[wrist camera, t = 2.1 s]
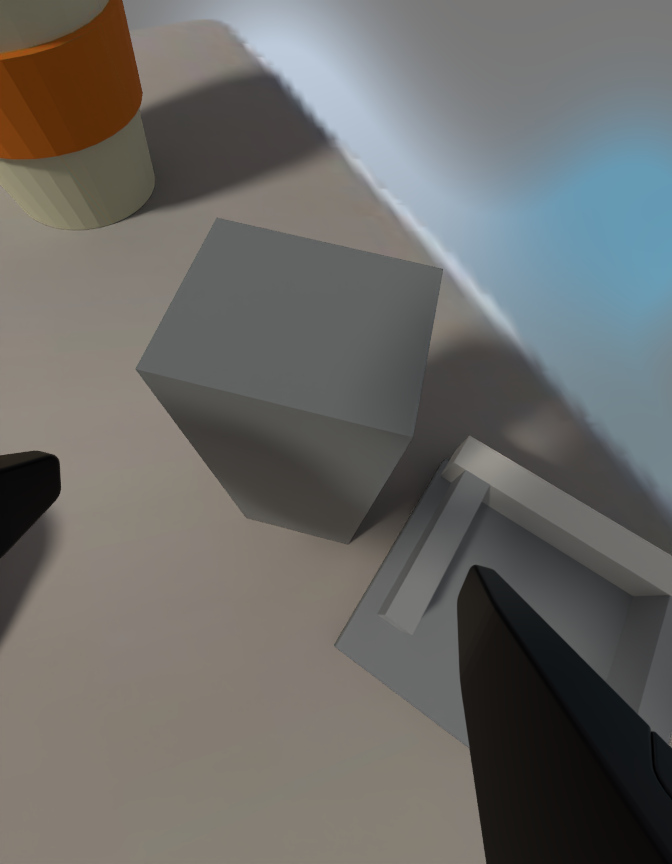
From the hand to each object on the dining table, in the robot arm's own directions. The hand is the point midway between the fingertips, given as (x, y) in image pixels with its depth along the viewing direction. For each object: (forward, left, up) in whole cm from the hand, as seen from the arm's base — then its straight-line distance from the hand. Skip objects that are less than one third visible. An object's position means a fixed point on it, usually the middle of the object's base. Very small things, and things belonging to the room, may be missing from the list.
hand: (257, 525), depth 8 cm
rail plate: (-6, -8, -11) cm, 15 cm away
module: (+3, -2, -11) cm, 11 cm away
